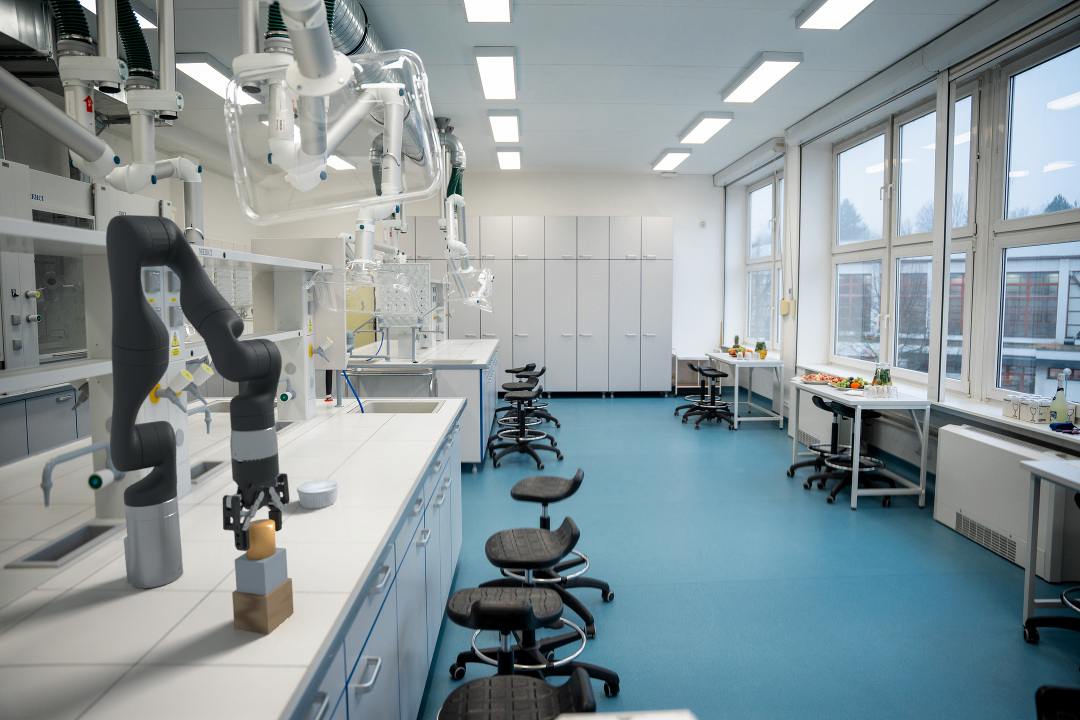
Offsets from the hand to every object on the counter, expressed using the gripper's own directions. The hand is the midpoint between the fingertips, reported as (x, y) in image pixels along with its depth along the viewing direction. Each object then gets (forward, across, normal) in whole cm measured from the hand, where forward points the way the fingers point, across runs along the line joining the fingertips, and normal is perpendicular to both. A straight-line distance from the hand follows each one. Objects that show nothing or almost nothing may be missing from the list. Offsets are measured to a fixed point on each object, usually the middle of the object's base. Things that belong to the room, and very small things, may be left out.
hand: (259, 539), depth 107 cm
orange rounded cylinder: (+3, 0, 0) cm, 3 cm away
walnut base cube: (+16, 0, 0) cm, 16 cm away
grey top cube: (+9, 0, 0) cm, 9 cm away
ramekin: (+16, -56, -26) cm, 64 cm away
